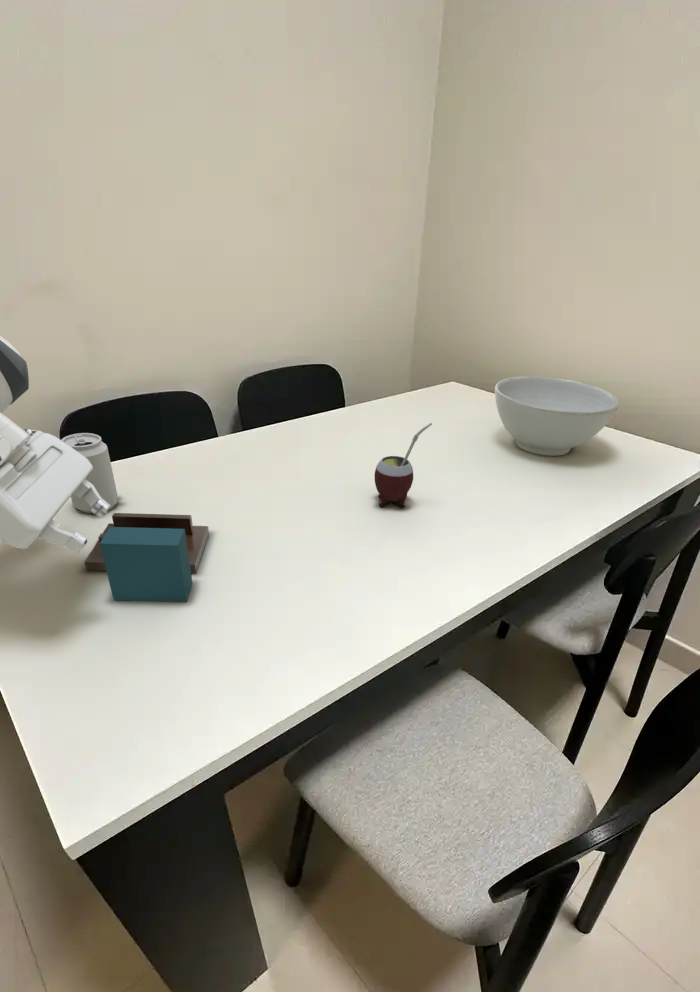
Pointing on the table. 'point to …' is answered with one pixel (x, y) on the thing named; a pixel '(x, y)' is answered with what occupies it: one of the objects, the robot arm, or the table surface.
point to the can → (94, 468)
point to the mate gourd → (395, 477)
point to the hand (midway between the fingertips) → (95, 529)
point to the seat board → (194, 534)
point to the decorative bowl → (552, 412)
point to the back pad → (147, 564)
